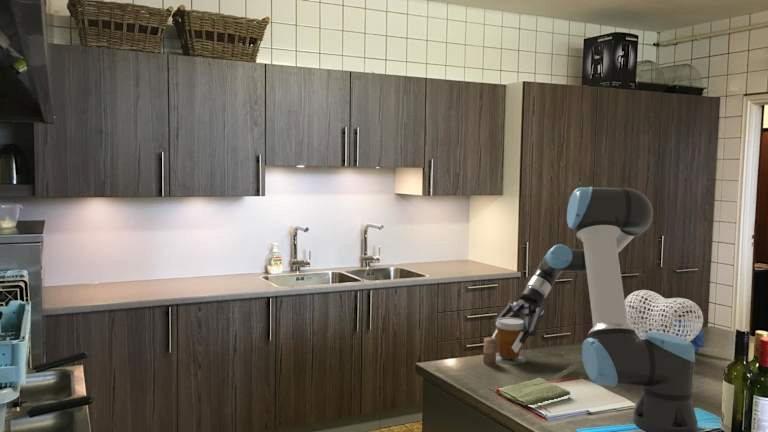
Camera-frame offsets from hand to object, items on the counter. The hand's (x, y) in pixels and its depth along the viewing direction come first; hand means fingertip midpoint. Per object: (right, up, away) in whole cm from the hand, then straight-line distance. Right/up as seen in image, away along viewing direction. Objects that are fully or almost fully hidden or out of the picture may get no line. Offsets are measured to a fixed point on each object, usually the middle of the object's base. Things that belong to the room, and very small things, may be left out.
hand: (503, 346), depth 214 cm
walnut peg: (-5, -5, -3) cm, 8 cm away
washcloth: (+4, -9, -28) cm, 30 cm away
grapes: (+69, -6, +20) cm, 72 cm away
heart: (+56, -6, +13) cm, 58 cm away
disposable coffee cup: (+2, -4, +3) cm, 5 cm away
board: (+2, -6, 0) cm, 6 cm away
